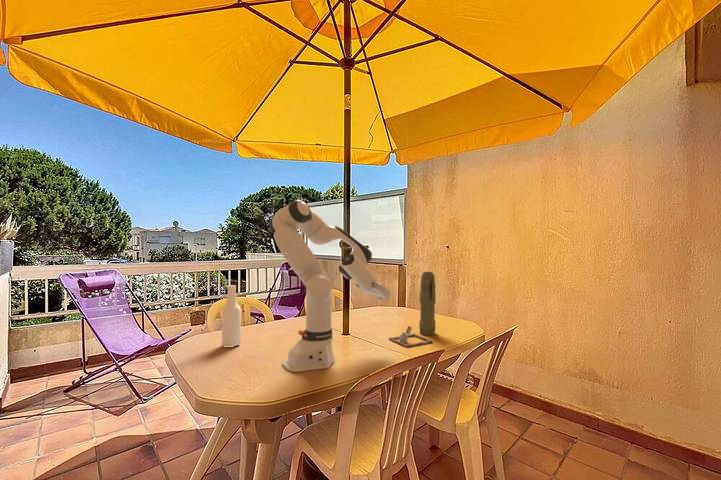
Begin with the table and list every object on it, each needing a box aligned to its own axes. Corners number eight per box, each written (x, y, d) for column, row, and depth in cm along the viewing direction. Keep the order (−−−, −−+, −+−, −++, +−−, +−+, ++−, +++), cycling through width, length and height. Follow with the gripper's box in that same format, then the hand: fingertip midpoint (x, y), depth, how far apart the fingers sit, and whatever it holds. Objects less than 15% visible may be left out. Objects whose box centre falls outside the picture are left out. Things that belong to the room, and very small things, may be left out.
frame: (406, 347, 171) (406, 345, 171) (389, 339, 184) (389, 338, 184) (432, 342, 179) (432, 340, 179) (413, 335, 192) (413, 333, 192)
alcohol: (220, 349, 166) (220, 287, 166) (223, 343, 175) (224, 284, 175) (239, 347, 168) (239, 286, 168) (241, 342, 177) (242, 284, 176)
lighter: (401, 343, 177) (401, 328, 177) (399, 342, 179) (399, 327, 179) (412, 341, 181) (412, 326, 181) (409, 340, 183) (410, 325, 182)
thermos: (428, 337, 189) (429, 273, 189) (414, 331, 199) (415, 271, 199) (440, 334, 194) (441, 272, 194) (426, 329, 204) (426, 271, 204)
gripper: (383, 279, 159) (400, 298, 165) (360, 274, 177) (376, 292, 182) (375, 289, 157) (392, 308, 162) (353, 283, 175) (369, 301, 180)
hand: (383, 299), depth 172 cm, fingers open, 2 cm apart
